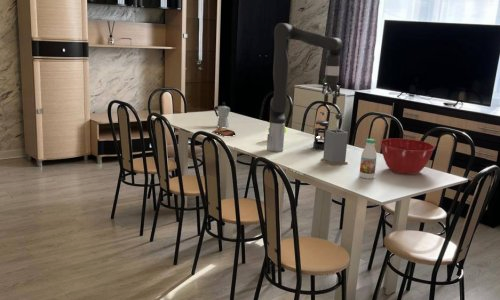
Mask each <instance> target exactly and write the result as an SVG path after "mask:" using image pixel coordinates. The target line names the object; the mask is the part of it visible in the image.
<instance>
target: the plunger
mask: <svg viewBox="0 0 500 300" xmlns="http://www.w3.org/2000/svg"><path fill="white" fill-rule="evenodd" d="M335 119H336V125H335V126H336V127H335V130H336V133H338V129H339V123H340V119H342V114H340V113H336V114H335Z"/></svg>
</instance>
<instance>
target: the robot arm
mask: <svg viewBox="0 0 500 300" xmlns="http://www.w3.org/2000/svg"><path fill="white" fill-rule="evenodd" d="M273 36H274V37H273V39H274V48H273V49H274V52H273V64H272V65H273V67H272V78H273V79H272V81H273V88H274V89H273V96H272V97H271V99H270V103H269V128H268V129H269V130H268V134H267V138H266V139H267V140H266V150H268V151H269V152H277V153H279V152H283V151H284V141H285V129H286V108H287V106H288V102H287V101H288V100H287V98H288V97H287V89H288V81H289V74H290V73H289V71H290V59H289V56H288V52H287V41H288V40H294V41H299V42H302V43H305V44H307V45H310V46H314V47H317V48H322V49H324V50H326V51H329V54H328V55H327V57H326V66H325V73H324V74H325V75H324V83H322V89H321V90H322V91H321V94H323V96H324V97H323V102H324V103H328V102H329V95H330V94H331V96H332V102H331V103H332V105H337V100H338V97H340V96H341V95H340V94H341V91H340V90H341V86H340V85H337V84H338V83H339V77H340V58H341V55H342V50H343V41H342V40H341V39H340V38H339V37H331V36H326V35H324V34H321V33H318V32H315V31H310V30H309V31H308V30H304V29H300V28H299V27H295V26H293V25H292V24H290V23H286V22H285V23H284V22H279V23H277V24H276V25H275V27H274V31H273Z"/></svg>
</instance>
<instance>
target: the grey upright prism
mask: <svg viewBox="0 0 500 300" xmlns="http://www.w3.org/2000/svg"><path fill="white" fill-rule="evenodd" d="M324 134H325V144H324V150H323V156H322V157H323V158H320V161H321V162H324V163H325V164H327V165H329V166H340V165H341V164H343V165H349V164H348V161H346V157H347V150H348V149H347V146H348V138H349V132H348V131H345V130H342V129H340V128H338V133H336V129H330V130H326V133H324ZM341 166H342V165H341Z"/></svg>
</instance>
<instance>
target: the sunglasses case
mask: <svg viewBox="0 0 500 300" xmlns="http://www.w3.org/2000/svg"><path fill="white" fill-rule="evenodd" d="M213 132H215V133H214V134H216V133H218V134H217V135H219V134H221V135H220V136H222V135H223V136H222V137H224V136H231V137H234V136H233V135H235V136H236V132H235V131H234V130H231V129H228V128H222V127H219V128H218V127H217V128H216V129H214V130H213V131H212V133H213Z"/></svg>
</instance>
